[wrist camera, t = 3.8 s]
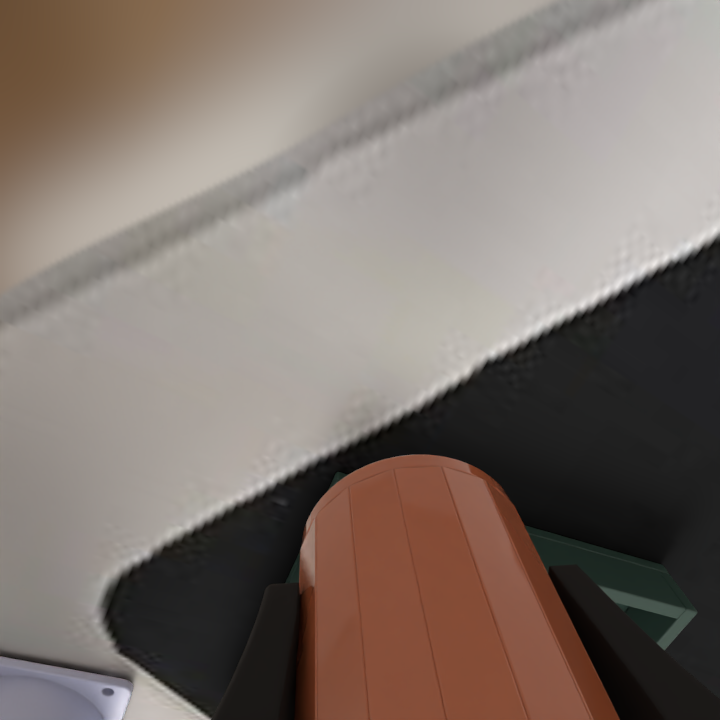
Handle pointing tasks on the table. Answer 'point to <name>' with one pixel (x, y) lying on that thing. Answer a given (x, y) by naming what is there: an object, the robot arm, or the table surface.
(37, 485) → the table surface
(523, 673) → the cup
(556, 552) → the tray
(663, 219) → the table surface
